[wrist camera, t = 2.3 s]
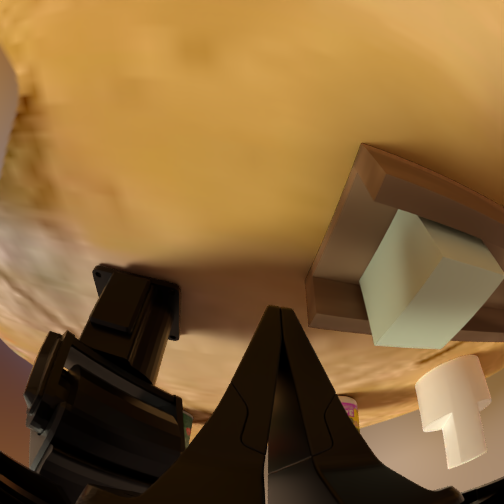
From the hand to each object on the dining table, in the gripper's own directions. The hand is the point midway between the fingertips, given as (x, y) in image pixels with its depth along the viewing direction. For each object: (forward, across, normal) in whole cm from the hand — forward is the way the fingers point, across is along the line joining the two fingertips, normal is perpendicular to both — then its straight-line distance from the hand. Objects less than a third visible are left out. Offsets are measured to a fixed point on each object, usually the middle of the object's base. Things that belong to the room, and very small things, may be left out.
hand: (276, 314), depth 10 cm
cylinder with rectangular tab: (+7, -26, +16) cm, 31 cm away
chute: (+6, -14, 0) cm, 16 cm away
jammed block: (+6, -8, 0) cm, 10 cm away
